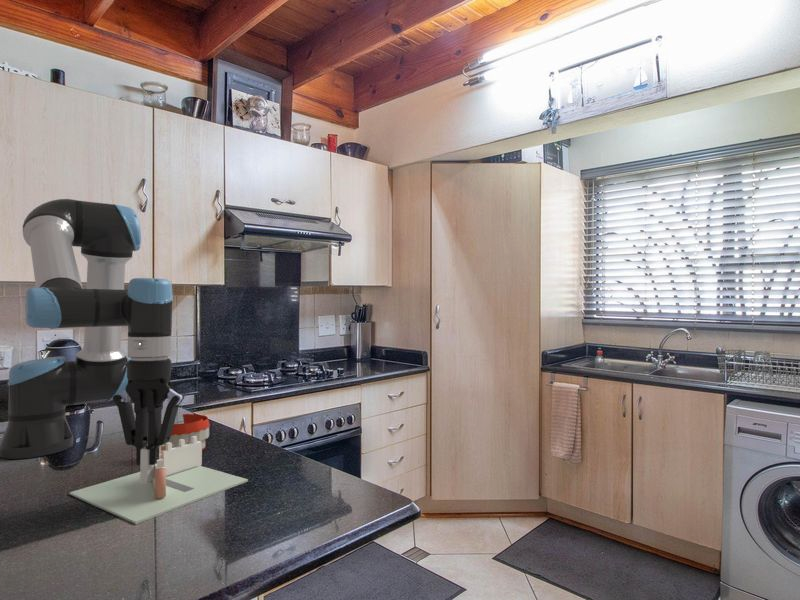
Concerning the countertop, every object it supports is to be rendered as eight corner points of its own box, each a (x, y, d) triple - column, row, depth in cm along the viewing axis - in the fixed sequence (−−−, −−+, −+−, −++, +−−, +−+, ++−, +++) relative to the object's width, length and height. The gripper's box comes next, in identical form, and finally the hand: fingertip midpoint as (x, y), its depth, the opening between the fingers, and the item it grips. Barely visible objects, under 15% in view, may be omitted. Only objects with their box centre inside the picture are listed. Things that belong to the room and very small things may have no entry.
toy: (189, 460, 112) (189, 426, 112) (151, 458, 114) (151, 425, 114) (219, 445, 124) (219, 415, 124) (184, 443, 126) (184, 413, 126)
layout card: (69, 494, 91) (69, 491, 91) (180, 461, 111) (180, 459, 111) (135, 524, 78) (135, 521, 78) (247, 481, 98) (248, 479, 98)
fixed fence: (147, 481, 98) (148, 442, 98) (197, 465, 108) (197, 430, 108) (153, 483, 97) (153, 444, 97) (202, 467, 107) (202, 431, 107)
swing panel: (150, 480, 97) (151, 449, 97) (160, 478, 98) (160, 447, 98) (155, 499, 87) (155, 464, 87) (166, 497, 88) (166, 462, 88)
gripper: (104, 360, 87) (101, 488, 87) (172, 360, 87) (170, 489, 87) (128, 355, 95) (126, 473, 94) (191, 356, 94) (189, 474, 94)
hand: (147, 481), depth 90 cm, fingers closed
